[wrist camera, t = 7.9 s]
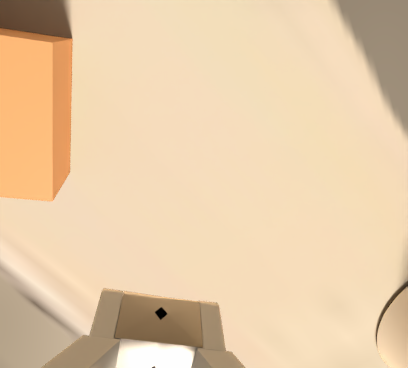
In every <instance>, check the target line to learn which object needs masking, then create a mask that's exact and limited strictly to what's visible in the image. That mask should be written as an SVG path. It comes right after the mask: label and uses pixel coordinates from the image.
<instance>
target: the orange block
mask: <svg viewBox="0 0 408 368" xmlns="http://www.w3.org/2000/svg"><path fill="white" fill-rule="evenodd" d="M71 88H72V39H70V38H63V37H57V36H50V35H43V34H37V33H30V32H23V31H17V30H10V29H4V28H0V197H7V198H19V199H30V200H42V201H53V200H54V198H55V196H56V195H57V193H58V191H59V190H60V188H61V186H62V185H63V183H64V181H65V180H66V178H67V176H68V175H69V173H70V143H71Z"/></svg>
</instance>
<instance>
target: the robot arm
mask: <svg viewBox="0 0 408 368" xmlns="http://www.w3.org/2000/svg"><path fill="white" fill-rule="evenodd" d="M377 347H378V351H379V354H380V356H381V358H382V360H383V361H384V362H385V363H386V364H387V365H388V366H389V367H390V368H408V287H407V288H405V289H404V290H403V291H402V292H401V293H400V294H399V295H398V296H397V297H396V298H395V299H394V301H393V302H392V303H391V304H390V306H389V307H388V309H387V310H386V312H385V314H384V316H383V318H382V320H381V322H380V325H379V329H378V333H377ZM41 368H245V367H244V365H243V364H242V363H241V362H240V361H239V360H238V359H237V357H236V356H235V355H234V354H233V353H232V352H229V351H226V349H225V342H224V335H223V328H222V322H221V315H220V308H219V305H218V303H215V302H205V301H199V302H198V301H192V300H184V299H176V298H168V297H161V296H154V295H148V294H141V293H135V292H128V291H124V293H123V291H120V290H113V289H106V288H104V289H103V291H102V293H101V296H100V300H99V303H98V307H97V310H96V314H95V317H94V321H93V324H92V328H91V331H90V335H89V336H87V335H83V336H81V337H80V338H79V339H77V340H76V341H75V342H74V343H72V344H71V345H70V346H68V347H67V348H66V349H64V350H63V351H62V352H61V353H59V354H58V355H57V356H55V357H54V358H53V359H52V360H50V361H49V362H48V363H46V364H45V365H44V366H42V367H41Z"/></svg>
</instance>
